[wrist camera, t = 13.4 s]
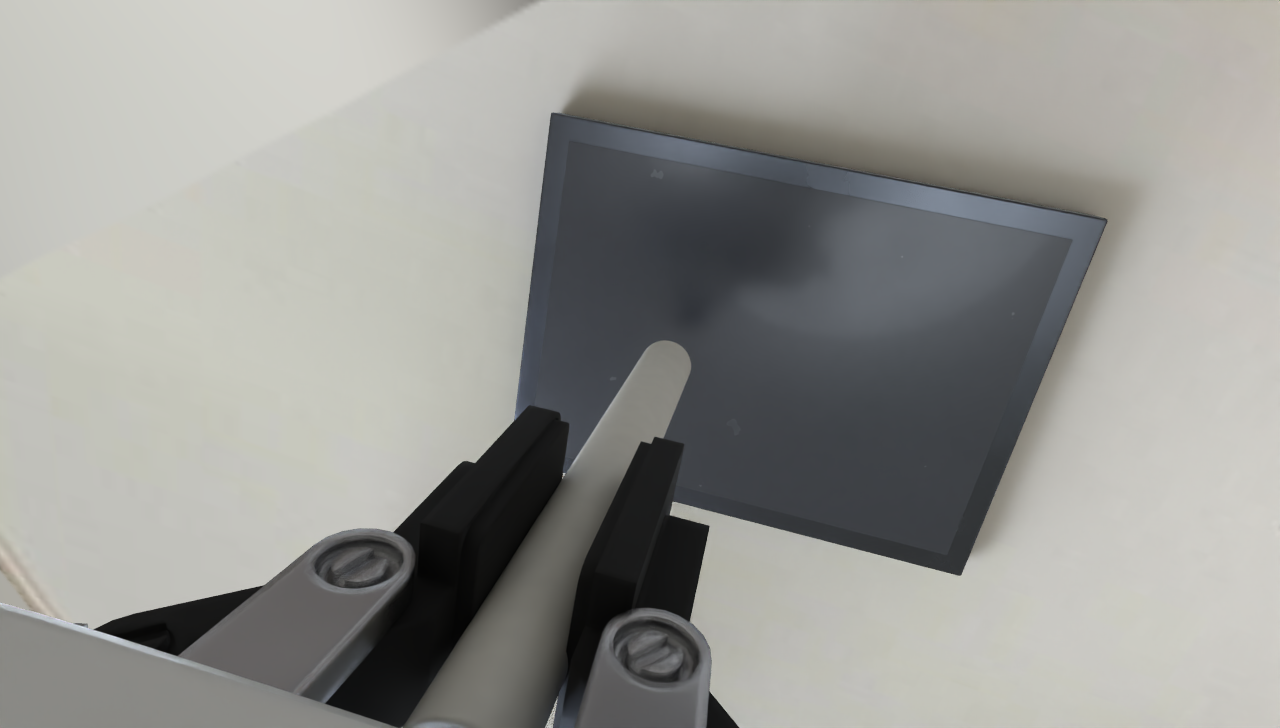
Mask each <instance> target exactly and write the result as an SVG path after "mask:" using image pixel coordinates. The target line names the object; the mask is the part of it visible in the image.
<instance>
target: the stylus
mask: <svg viewBox="0 0 1280 728" xmlns="http://www.w3.org/2000/svg"><path fill="white" fill-rule="evenodd" d="M690 371H691V360H690V357H689V355H688V353H687V352H686V350H685V349H684V348H683V347H682V346H680V345H679V344H678V343H675V342H672V341H658V342H655V343H653V344H651V345H650V346H649V347H648V348H647V349H646V350H645V351H644V353H643V355H642V356H641V358H640V359H639V361H638V362H637V364H636V365H635V367H634V369H633V370H632V372H631V373H630V375H629V376H628V378H627V379H626V381H625V383H624V384H623V386H622V387H621V389H620V390H619V392H618V393H617V395H616V397H615V398H614V400H613V401H612V403H611V404H610V406H609V407H608V409H607V411H606V412H605V414H604V415H603V417H602V418H601V420H600V421H599V423H598V425H597V426H596V428H595V429H594V431H593V432H592V434H591V435H590V437H589V439H588V440H587V442H586V443H585V445H584V446H583V448H582V449H581V451H580V453H579V454H578V456H577V457H576V459H575V460H574V462H573V463H572V465H571V467H570V468H569V470H568V471H567V473H566V474H565V476H564V477H563V479H562V481H561V482H560V484H559V485H558V487H557V488H556V490H555V492H554V493H553V495H552V496H551V498H550V499H549V501H548V502H547V504H546V506H545V507H544V509H543V510H542V512H541V513H540V515H539V516H538V518H537V520H536V521H535V523H534V524H533V526H532V527H531V529H530V530H529V532H528V534H527V535H526V537H525V538H524V540H523V541H522V543H521V544H520V546H519V548H518V549H517V551H516V552H515V554H514V555H513V557H512V558H511V560H510V562H509V563H508V565H507V566H506V568H505V569H504V571H503V573H502V574H501V576H500V577H499V579H498V580H497V582H496V583H495V585H494V587H493V588H492V590H491V591H490V593H489V594H488V596H487V597H486V599H485V601H484V602H483V604H482V605H481V607H480V608H479V610H478V611H477V613H476V615H475V616H474V618H473V619H472V621H471V622H470V624H469V625H468V627H467V628H466V630H465V631H464V633H463V635H462V636H461V638H460V639H459V641H458V642H457V644H456V645H455V647H454V648H453V650H452V652H451V653H450V655H449V656H448V658H447V659H446V661H445V662H444V664H443V666H442V667H441V669H440V670H439V672H438V673H437V675H436V676H435V678H434V680H433V681H432V683H431V684H430V686H429V687H428V689H427V690H426V692H425V694H424V695H423V697H422V698H421V700H420V701H419V703H418V704H417V706H416V708H415V709H414V711H413V712H412V714H411V715H410V717H409V718H408V720H407V722H406V723H405V725H404V726H403V728H545V726H546V724H547V721H548V719H549V716H550V714H551V711H552V709H553V706H554V704H555V702H556V699H557V697H558V694H559V692H560V689H561V687H562V685H563V682H564V680H565V677H566V674H567V671H568V657H567V653H566V648H567V642H568V636H569V630H570V624H571V618H572V612H573V607H574V601H575V595H576V589H577V584H578V580H579V576H580V572H581V569H582V566H583V563H584V560H585V558H586V555H587V553H588V551H589V549H590V547H591V545H592V543H593V541H594V539H595V536H596V534H597V532H598V530H599V528H600V526H601V524H602V522H603V520H604V518H605V516H606V513H607V511H608V509H609V507H610V505H611V503H612V501H613V499H614V497H615V495H616V492H617V490H618V488H619V486H620V484H621V482H622V480H623V478H624V476H625V474H626V471H627V469H628V467H629V465H630V463H631V461H632V459H633V457H634V455H635V453H636V450H637V448H638V446H639V444H640V442H641V441H642V442H646V443H650V444H651V443H652V441H653V439H654V437H659V438H664V435H665V433H666V431H667V428H668V426H669V423H670V421H671V418H672V416H673V413H674V411H675V409H676V406H677V404H678V401H679V399H680V396H681V394H682V391H683V389H684V387H685V384H686V382H687V379H688V377H689V374H690Z"/></svg>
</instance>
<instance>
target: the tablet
mask: <svg viewBox="0 0 1280 728" xmlns="http://www.w3.org/2000/svg"><path fill="white" fill-rule="evenodd" d="M1106 223H1107V219H1105V218H1102V217H1099V216H1095V215H1090V214H1085V213H1080V212H1074V211H1069V210H1064V209H1059V208H1053V207H1048V206H1043V205H1038V204H1033V203H1027V202H1022V201H1017V200H1012V199H1007V198H1001V197H996V196H991V195H986V194H980V193H975V192H970V191H965V190H960V189H954V188H949V187H944V186H939V185H933V184H928V183H923V182H918V181H913V180H907V179H902V178H897V177H892V176H887V175H881V174H876V173H871V172H866V171H860V170H855V169H850V168H845V167H840V166H834V165H829V164H824V163H819V162H813V161H808V160H803V159H798V158H793V157H787V156H782V155H777V154H772V153H767V152H761V151H756V150H751V149H746V148H740V147H735V146H730V145H725V144H720V143H714V142H709V141H704V140H699V139H693V138H688V137H683V136H678V135H673V134H667V133H662V132H657V131H652V130H646V129H641V128H636V127H631V126H626V125H620V124H615V123H610V122H605V121H600V120H594V119H589V118H584V117H579V116H573V115H568V114H563V113H551V118H550V126H549V135H548V143H547V152H546V160H545V168H544V177H543V185H542V193H541V202H540V210H539V219H538V227H537V235H536V244H535V252H534V260H533V269H532V277H531V285H530V294H529V302H528V311H527V319H526V327H525V336H524V344H523V352H522V361H521V369H520V378H519V386H518V394H517V403H516V411H515V419H514V421H515V420H516V419H517V418H518V416H519V415H520V414H521V413H522V412H523V411H524V410H525V409H526V408H527V407H528V406H529V405H532V406H536V407H540V408H544V409H548V410H552V411H556V412H560V415H561V421H564V422H567V423H569V435H568V441H567V448H566V455H565V462H564V468H563V473H567V471H568V470H569V468H570V467H571V465H572V463H573V462H574V460H575V459H576V457H577V456H578V454H579V453H580V451H581V449H582V448H583V446H584V445H585V443H586V442H587V440H588V439H589V437H590V435H591V434H592V432H593V431H594V429H595V428H596V426H597V425H598V423H599V421H600V420H601V418H602V417H603V415H604V414H605V412H606V411H607V409H608V407H609V406H610V404H611V403H612V401H613V400H614V398H615V397H616V395H617V393H618V392H619V390H620V389H621V387H622V386H623V384H624V383H625V381H626V379H627V378H628V376H629V375H630V373H631V372H632V370H633V369H634V367H635V365H636V364H637V362H638V361H639V359H640V358H641V356H642V355H643V353H644V351H645V350H646V349H647V348H648V347H649V346H650V345H651V344H653V343H655V342H658V341H672V342H675V343H678V344H679V345H680V346H682V347H683V348H684V349H685V350H686V352H687V353H688V355H689V357H690V360H691V371H690V374H689V377H688V379H687V382H686V384H685V387H684V389H683V391H682V394H681V396H680V399H679V401H678V404H677V406H676V409H675V411H674V413H673V416H672V418H671V421H670V423H669V426H668V428H667V431H666V433H665V435H664V438H663V439H667V440H671V441H675V442H679V443H683V444H685V445H684V451H683V456H682V460H681V465H680V469H679V474H678V478H677V483H676V487H675V492H674V497H673V501H674V502H678V503H682V504H686V505H690V506H693V507H697V508H701V509H705V510H709V511H713V512H716V513H720V514H724V515H728V516H732V517H736V518H739V519H743V520H747V521H751V522H755V523H759V524H763V525H766V526H770V527H774V528H778V529H782V530H786V531H789V532H793V533H797V534H801V535H805V536H809V537H812V538H816V539H820V540H824V541H828V542H832V543H836V544H839V545H843V546H847V547H851V548H855V549H859V550H862V551H866V552H870V553H874V554H878V555H882V556H885V557H889V558H893V559H897V560H901V561H905V562H908V563H912V564H916V565H920V566H924V567H928V568H932V569H935V570H939V571H943V572H947V573H951V574H955V575H958V576H961V574H962V572H963V569H964V567H965V565H966V562H967V560H968V557H969V555H970V553H971V550H972V548H973V545H974V543H975V540H976V538H977V536H978V533H979V531H980V528H981V526H982V524H983V521H984V519H985V516H986V514H987V511H988V509H989V507H990V504H991V502H992V499H993V497H994V494H995V492H996V490H997V487H998V485H999V482H1000V480H1001V478H1002V475H1003V473H1004V470H1005V468H1006V465H1007V463H1008V461H1009V458H1010V456H1011V453H1012V451H1013V449H1014V446H1015V444H1016V441H1017V439H1018V436H1019V434H1020V432H1021V429H1022V427H1023V424H1024V422H1025V419H1026V417H1027V415H1028V412H1029V410H1030V407H1031V405H1032V403H1033V400H1034V398H1035V395H1036V393H1037V390H1038V388H1039V386H1040V383H1041V381H1042V378H1043V376H1044V373H1045V371H1046V369H1047V366H1048V364H1049V361H1050V359H1051V357H1052V354H1053V352H1054V349H1055V347H1056V344H1057V342H1058V340H1059V337H1060V335H1061V332H1062V330H1063V328H1064V325H1065V323H1066V320H1067V318H1068V315H1069V313H1070V311H1071V308H1072V306H1073V303H1074V301H1075V298H1076V296H1077V294H1078V291H1079V289H1080V286H1081V284H1082V282H1083V279H1084V277H1085V274H1086V272H1087V269H1088V267H1089V265H1090V262H1091V260H1092V257H1093V255H1094V253H1095V250H1096V248H1097V245H1098V243H1099V240H1100V238H1101V236H1102V233H1103V231H1104V228H1105V226H1106Z"/></svg>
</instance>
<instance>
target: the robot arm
mask: <svg viewBox="0 0 1280 728" xmlns="http://www.w3.org/2000/svg"><path fill="white" fill-rule="evenodd" d="M568 435H569V423H567V422H564V421H561V415H560V412H556V411H552V410H548V409H544V408H540V407H536V406H532V405H529V406H528V407H527V408H526V409H525V410H524V411H523V412H522V413H521V414H520V415H519V416H518V418H517V419H516V420H515V421H514V422H513V423H512V424H511V425H510V426H509V427H508V428H507V429H506V430H505V432H504V433H503V434H502V435H501V436H500V437H499V438H498V439H497V440H496V441H495V442H494V443H493V445H492V446H491V447H490V448H489V449H488V450H487V451H486V452H485V453H484V454H483V455H482V456H481V458H480V459H479V460H478V461H477V462H476V463H472V462H468V461H463V462H462V463H461V464H459V465H458V466H457V467H456V468H455V469H454V470H453V471H452V472H451V473H450V474H449V475H448V476H447V477H446V478H445V479H444V480H443V482H442V483H441V484H440V485H439V486H438V487H437V488H436V489H435V490H434V491H433V492H432V493H431V494H430V495H429V496H428V497H427V498H426V499H425V500H424V501H423V502H422V503H421V504H420V505H419V506H418V507H417V508H416V509H415V510H414V512H413V513H412V514H411V515H410V516H409V517H408V518H407V519H406V520H405V521H404V522H403V523H402V524H401V525H400V526H399V527H398V528H397V529H396V530H395V531H394V532H393V533H392V532H389V531H385V530H380V529H353V530H347V531H342V532H339V533H336V534H334V535H331V536H328V537H326V538H325V539H323V540H321V541H320V542H318V543H316V544H315V545H313V546H312V547H311V548H310V549H309V550H307V551H306V552H305V553H304V554H302V555H301V556H300V557H299V558H297V559H296V560H295V561H294V562H293V563H291V564H290V565H289V566H288V567H286V568H285V569H284V570H283V571H282V572H280V573H279V574H278V575H277V576H275V577H274V578H273V579H272V580H270V581H269V582H268V583H267V584H266V585H264V586H259V587H255V588H250V589H245V590H241V591H236V592H232V593H227V594H223V595H218V596H213V597H209V598H204V599H200V600H195V601H191V602H186V603H181V604H177V605H172V606H168V607H163V608H159V609H154V610H149V611H145V612H140V613H136V614H132V615H129V616H125V617H122V618H119V619H116V620H112V621H110V622H108V623H106V624H104V625H102V626H100V627H98V628H96V629H94V630H93V629H89V628H88V625H87V624H82V623H70V622H67V621H63V620H60V619H57V618H54V617H50V616H47V615H44V614H41V613H37V612H33V611H30V610H26V609H22V608H18V607H15V606H11V605H7V604H4V603H0V728H403V726H404V725H405V723H406V722H407V720H408V718H409V717H410V715H411V714H412V712H413V711H414V709H415V708H416V706H417V704H418V703H419V701H420V700H421V698H422V697H423V695H424V694H425V692H426V690H427V689H428V687H429V686H430V684H431V683H432V681H433V680H434V678H435V676H436V675H437V673H438V672H439V670H440V669H441V667H442V666H443V664H444V662H445V661H446V659H447V658H448V656H449V655H450V653H451V652H452V650H453V648H454V647H455V645H456V644H457V642H458V641H459V639H460V638H461V636H462V635H463V633H464V631H465V630H466V628H467V627H468V625H469V624H470V622H471V621H472V619H473V618H474V616H475V615H476V613H477V611H478V610H479V608H480V607H481V605H482V604H483V602H484V601H485V599H486V597H487V596H488V594H489V593H490V591H491V590H492V588H493V587H494V585H495V583H496V582H497V580H498V579H499V577H500V576H501V574H502V573H503V571H504V569H505V568H506V566H507V565H508V563H509V562H510V560H511V558H512V557H513V555H514V554H515V552H516V551H517V549H518V548H519V546H520V544H521V543H522V541H523V540H524V538H525V537H526V535H527V534H528V532H529V530H530V529H531V527H532V526H533V524H534V523H535V521H536V520H537V518H538V516H539V515H540V513H541V512H542V510H543V509H544V507H545V506H546V504H547V502H548V501H549V499H550V498H551V496H552V495H553V493H554V492H555V490H556V488H557V487H558V485H559V484H560V482H561V481H562V475H563V468H564V462H565V455H566V448H567V441H568ZM684 445H685V444H683V443H679V442H675V441H671V440H667V439H663V438H659V437H654V439H653V441H652V443H651V444H650V443H646V442H642V441H641V442H640V444H639V446H638V448H637V450H636V453H635V455H634V457H633V459H632V461H631V463H630V465H629V467H628V469H627V471H626V474H625V476H624V478H623V480H622V482H621V484H620V486H619V488H618V490H617V492H616V495H615V497H614V499H613V501H612V503H611V505H610V507H609V509H608V511H607V513H606V516H605V518H604V520H603V522H602V524H601V526H600V528H599V530H598V532H597V534H596V536H595V539H594V541H593V543H592V545H591V547H590V549H589V551H588V553H587V555H586V558H585V560H584V563H583V566H582V569H581V572H580V576H579V580H578V584H577V589H576V595H575V601H574V607H573V612H572V618H571V624H570V630H569V636H568V642H567V648H566V653H567V657H568V671H567V674H566V677H565V680H564V682H563V685H562V687H561V689H560V692H559V695H558V701H557V707H556V712H555V718H554V724H553V728H739V727H738V726H737V724H736V723H735V722H734V721H733V720H732V718H731V717H730V716H729V715H728V713H727V712H726V711H725V710H724V709H723V707H722V706H721V705H720V704H719V702H718V701H717V700H716V699H715V698H714V696H713V695H712V694H711V693H710V691H709V688H710V676H711V665H712V660H711V651H710V647H709V645H708V643H707V641H706V639H705V637H704V636H703V634H702V633H701V632H700V631H699V630H698V629H697V628H696V627H695V626H694V625H693V624H691V623H690V618H691V613H692V608H693V603H694V599H695V594H696V589H697V584H698V580H699V575H700V570H701V565H702V560H703V556H704V551H705V546H706V541H707V536H708V532H709V526H708V525H704V524H700V523H696V522H693V521H689V520H685V519H681V518H678V517H674V516H670V510H671V506H672V501H673V497H674V492H675V487H676V483H677V478H678V474H679V469H680V465H681V460H682V456H683V451H684Z"/></svg>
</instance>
